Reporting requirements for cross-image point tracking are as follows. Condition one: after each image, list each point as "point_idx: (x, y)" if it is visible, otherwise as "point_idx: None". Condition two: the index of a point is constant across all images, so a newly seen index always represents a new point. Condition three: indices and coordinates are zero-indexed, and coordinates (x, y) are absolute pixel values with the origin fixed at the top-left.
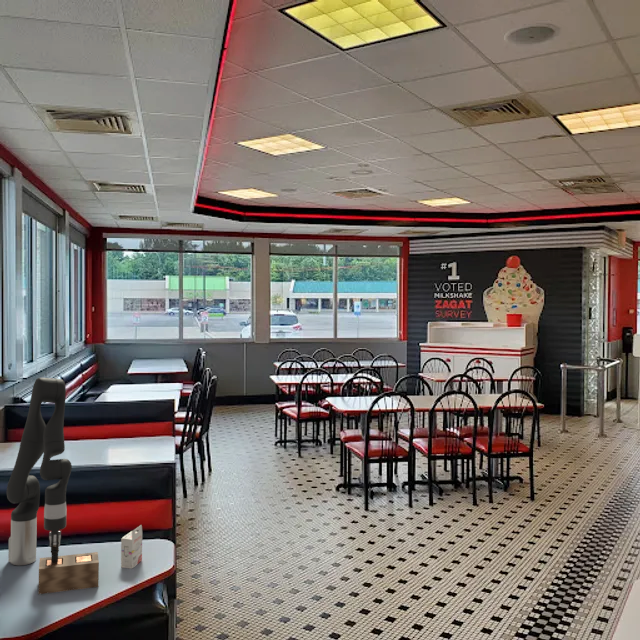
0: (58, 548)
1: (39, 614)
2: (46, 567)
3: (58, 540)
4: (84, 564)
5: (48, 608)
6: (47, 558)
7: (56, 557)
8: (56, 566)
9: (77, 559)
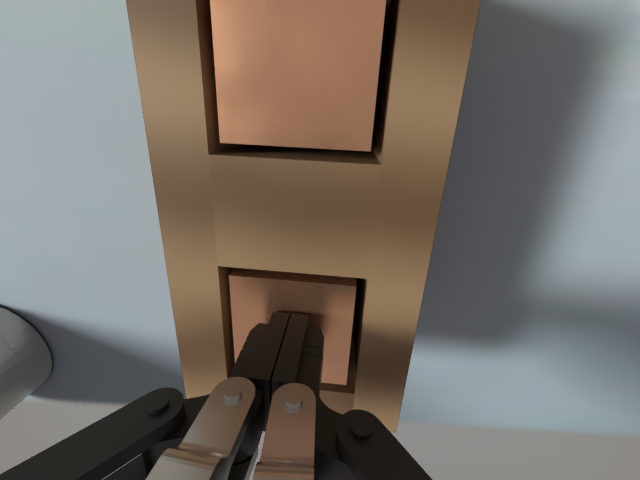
0: (236, 400)
1: (606, 327)
2: (388, 391)
3: (91, 470)
4: (465, 63)
5: (566, 289)
6: (205, 369)
7: (321, 361)
8: (401, 329)
9: (294, 136)
